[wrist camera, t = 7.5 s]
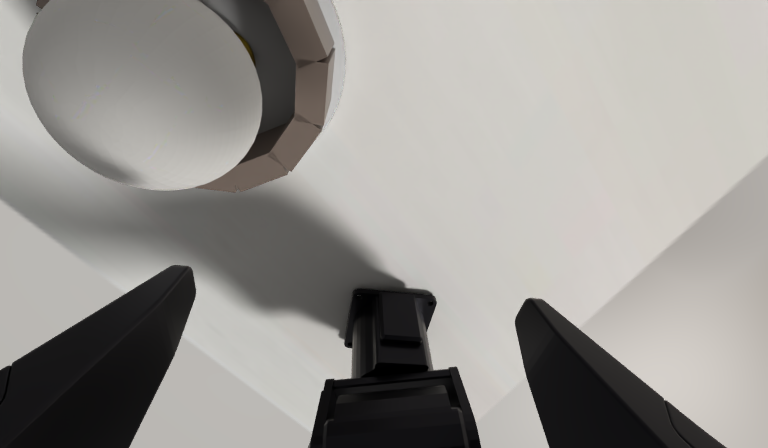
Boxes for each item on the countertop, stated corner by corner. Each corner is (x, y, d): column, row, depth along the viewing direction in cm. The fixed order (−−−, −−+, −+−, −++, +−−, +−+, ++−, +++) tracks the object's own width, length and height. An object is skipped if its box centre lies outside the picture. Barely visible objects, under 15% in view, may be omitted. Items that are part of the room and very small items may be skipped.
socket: (334, 170, 21) (328, 213, 17) (136, 144, 19) (78, 184, 16) (358, -62, 15) (357, -80, 11) (75, -126, 14) (-45, -173, 10)
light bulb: (149, 76, 17) (-57, 161, 9) (186, -54, 14) (-60, -111, 6) (265, 139, 19) (189, 258, 11) (316, 36, 16) (268, 87, 8)
